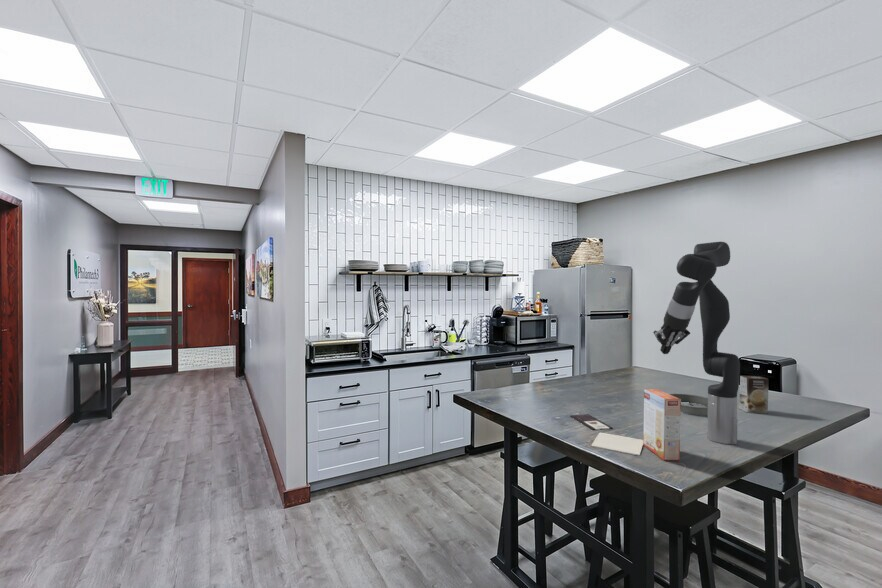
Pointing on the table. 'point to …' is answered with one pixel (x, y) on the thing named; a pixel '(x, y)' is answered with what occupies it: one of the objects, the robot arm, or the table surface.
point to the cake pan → (693, 399)
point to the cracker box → (662, 424)
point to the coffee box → (754, 394)
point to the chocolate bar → (591, 422)
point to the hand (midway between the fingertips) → (664, 352)
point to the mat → (618, 443)
